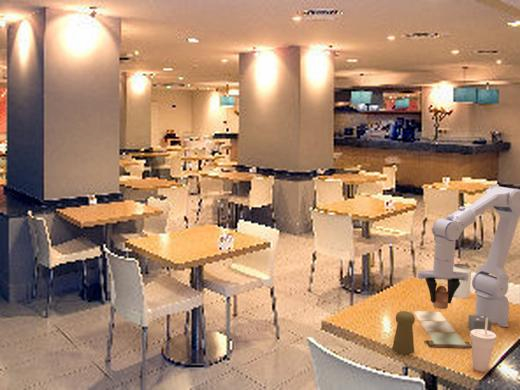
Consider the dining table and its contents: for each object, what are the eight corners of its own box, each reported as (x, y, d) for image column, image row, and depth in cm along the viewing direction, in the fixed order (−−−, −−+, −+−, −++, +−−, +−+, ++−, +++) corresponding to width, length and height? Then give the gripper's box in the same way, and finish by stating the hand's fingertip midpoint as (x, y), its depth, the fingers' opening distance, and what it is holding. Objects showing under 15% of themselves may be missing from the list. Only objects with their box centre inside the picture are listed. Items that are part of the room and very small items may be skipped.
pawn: (445, 304, 170) (446, 284, 170) (449, 309, 166) (450, 288, 165) (431, 303, 171) (433, 283, 170) (435, 308, 166) (436, 287, 166)
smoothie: (491, 376, 141) (495, 324, 139) (465, 369, 144) (469, 318, 142) (495, 367, 146) (499, 316, 144) (470, 360, 150) (474, 311, 148)
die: (483, 331, 171) (485, 315, 170) (490, 337, 166) (491, 321, 166) (467, 330, 171) (469, 314, 171) (473, 336, 166) (474, 320, 166)
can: (471, 300, 199) (474, 268, 197) (453, 300, 199) (456, 268, 197) (465, 294, 205) (467, 263, 204) (447, 294, 206) (450, 263, 204)
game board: (444, 314, 184) (444, 311, 184) (471, 348, 158) (472, 345, 158) (407, 313, 185) (408, 310, 185) (429, 347, 158) (429, 343, 158)
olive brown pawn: (415, 355, 152) (417, 317, 151) (392, 353, 154) (394, 315, 152) (413, 346, 158) (415, 309, 157) (391, 344, 159) (394, 307, 158)
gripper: (464, 256, 170) (460, 298, 172) (416, 254, 171) (413, 296, 172) (471, 262, 163) (468, 306, 165) (422, 260, 164) (419, 304, 166)
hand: (440, 302), depth 168 cm, fingers closed on pawn, 4 cm apart
